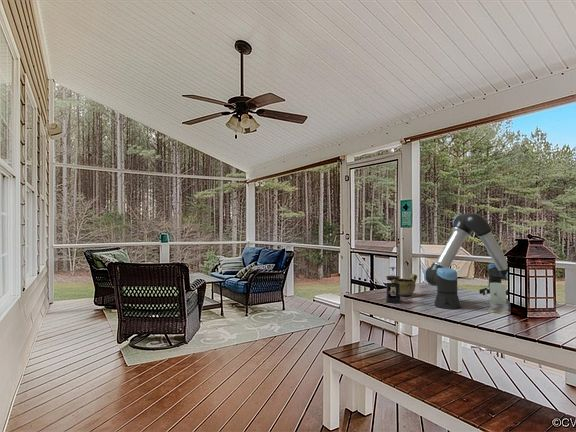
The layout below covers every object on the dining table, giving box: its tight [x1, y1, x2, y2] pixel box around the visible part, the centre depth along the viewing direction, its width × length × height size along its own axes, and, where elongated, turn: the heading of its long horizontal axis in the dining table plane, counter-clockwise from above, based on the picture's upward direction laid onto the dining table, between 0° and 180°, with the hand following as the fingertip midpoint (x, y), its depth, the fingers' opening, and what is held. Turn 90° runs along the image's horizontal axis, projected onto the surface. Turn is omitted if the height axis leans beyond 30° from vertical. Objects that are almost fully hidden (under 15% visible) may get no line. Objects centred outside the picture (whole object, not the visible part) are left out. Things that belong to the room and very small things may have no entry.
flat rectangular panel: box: [489, 282, 507, 304], centre depth 213 cm, size 8×3×16 cm, turn 63°
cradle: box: [487, 300, 511, 315], centre depth 208 cm, size 11×6×6 cm, turn 63°
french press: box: [385, 266, 402, 305], centre depth 239 cm, size 12×9×23 cm
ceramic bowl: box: [389, 273, 418, 297], centre depth 261 cm, size 22×17×15 cm
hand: (499, 295), depth 214 cm, fingers open, 13 cm apart
